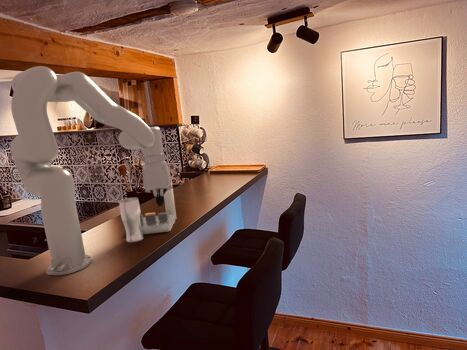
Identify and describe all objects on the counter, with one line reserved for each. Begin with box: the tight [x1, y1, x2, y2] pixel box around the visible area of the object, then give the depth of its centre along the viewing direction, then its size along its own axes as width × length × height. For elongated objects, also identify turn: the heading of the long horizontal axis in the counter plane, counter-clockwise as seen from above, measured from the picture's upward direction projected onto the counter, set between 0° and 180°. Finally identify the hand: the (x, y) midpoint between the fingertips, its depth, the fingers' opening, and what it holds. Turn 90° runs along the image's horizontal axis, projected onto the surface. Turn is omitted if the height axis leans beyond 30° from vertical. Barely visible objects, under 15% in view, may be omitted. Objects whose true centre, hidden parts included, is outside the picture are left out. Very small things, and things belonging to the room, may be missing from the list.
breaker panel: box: [141, 215, 176, 235], centre depth 135 cm, size 12×16×3 cm
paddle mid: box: [144, 212, 157, 222], centre depth 134 cm, size 2×4×3 cm, turn 90°
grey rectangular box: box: [157, 211, 169, 221], centre depth 134 cm, size 2×4×2 cm, turn 90°
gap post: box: [164, 180, 177, 220], centre depth 143 cm, size 4×4×18 cm
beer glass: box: [118, 197, 144, 243], centre depth 123 cm, size 7×7×15 cm
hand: (161, 205), depth 134 cm, fingers closed
